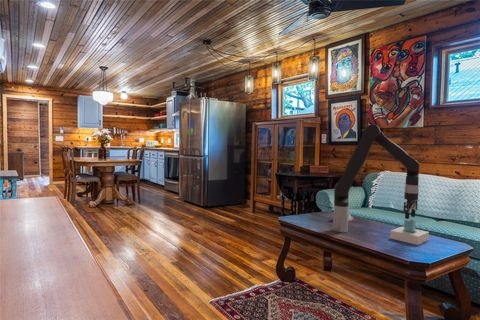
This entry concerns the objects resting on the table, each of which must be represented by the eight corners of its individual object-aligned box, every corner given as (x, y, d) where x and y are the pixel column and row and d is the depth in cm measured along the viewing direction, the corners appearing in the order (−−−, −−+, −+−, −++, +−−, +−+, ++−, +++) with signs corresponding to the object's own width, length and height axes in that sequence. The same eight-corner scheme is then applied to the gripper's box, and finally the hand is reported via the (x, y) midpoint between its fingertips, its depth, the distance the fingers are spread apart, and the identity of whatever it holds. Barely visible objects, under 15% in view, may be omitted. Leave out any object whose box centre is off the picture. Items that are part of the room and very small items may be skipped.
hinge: (341, 222, 233) (337, 209, 235) (336, 223, 237) (332, 210, 239) (353, 219, 244) (350, 206, 246) (348, 220, 247) (345, 207, 249)
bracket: (412, 239, 191) (413, 221, 190) (403, 237, 194) (404, 219, 194) (415, 237, 193) (415, 220, 193) (406, 236, 197) (407, 218, 196)
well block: (417, 244, 183) (418, 236, 182) (390, 238, 195) (390, 230, 195) (428, 239, 193) (428, 231, 193) (401, 233, 205) (402, 226, 205)
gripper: (409, 190, 200) (408, 215, 201) (400, 192, 191) (398, 218, 191) (422, 191, 194) (421, 217, 195) (413, 193, 185) (411, 220, 186)
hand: (410, 217), depth 193 cm, fingers open, 8 cm apart
